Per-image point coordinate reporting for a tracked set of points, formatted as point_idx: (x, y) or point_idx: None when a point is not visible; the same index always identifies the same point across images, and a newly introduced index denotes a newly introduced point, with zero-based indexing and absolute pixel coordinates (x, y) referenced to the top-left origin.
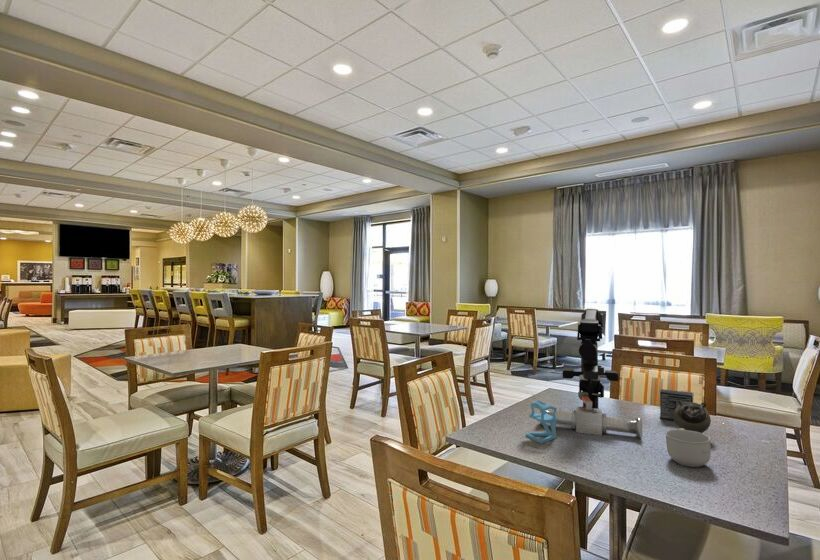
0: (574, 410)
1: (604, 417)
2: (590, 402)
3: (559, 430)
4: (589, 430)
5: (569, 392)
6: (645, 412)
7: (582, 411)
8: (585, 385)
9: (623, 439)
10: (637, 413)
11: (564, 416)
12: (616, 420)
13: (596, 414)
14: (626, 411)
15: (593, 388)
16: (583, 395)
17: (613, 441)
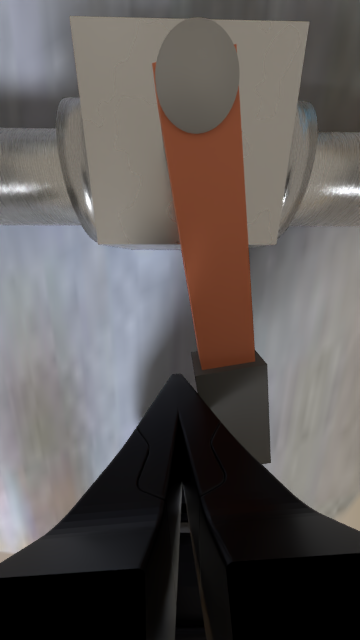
0: (298, 156)
1: (72, 104)
2: (178, 27)
3: None
4: None
5: None
6: (13, 499)
7: (248, 68)
8: (268, 477)
9: (25, 122)
10: (33, 483)
11: (344, 132)
12: (2, 136)
13: (122, 25)
14: (66, 489)
15: (130, 447)
16: (239, 365)
17: (63, 51)
